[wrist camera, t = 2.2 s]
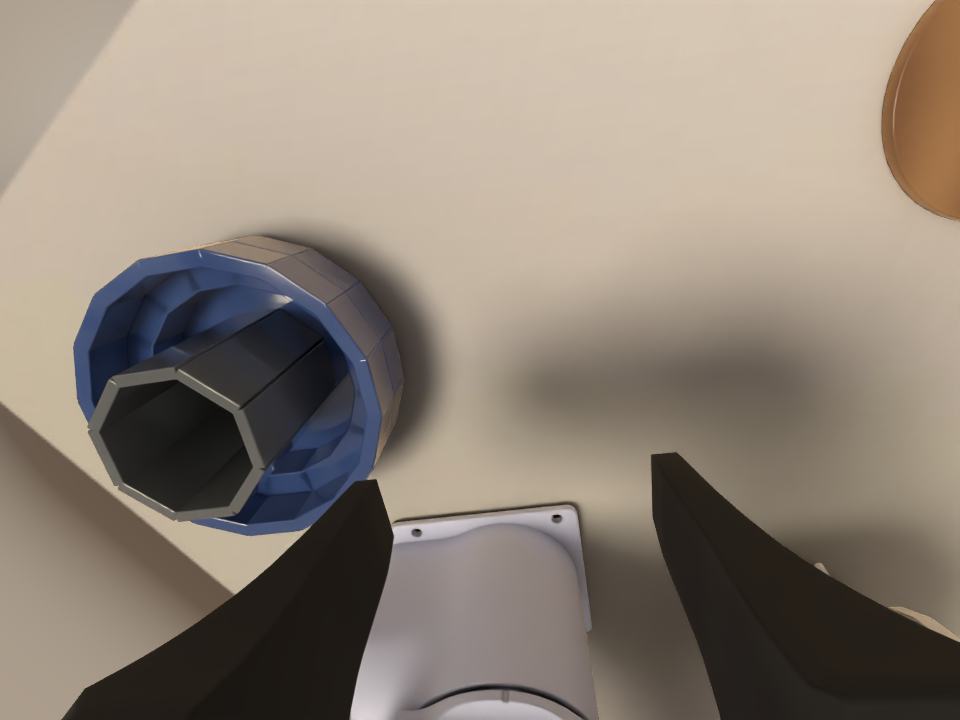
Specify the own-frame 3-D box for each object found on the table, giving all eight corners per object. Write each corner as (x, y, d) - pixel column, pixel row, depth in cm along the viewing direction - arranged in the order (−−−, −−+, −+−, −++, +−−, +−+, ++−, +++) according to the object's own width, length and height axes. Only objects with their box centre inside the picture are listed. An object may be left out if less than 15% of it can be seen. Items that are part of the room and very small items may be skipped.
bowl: (208, 485, 26) (148, 547, 21) (114, 260, 22) (17, 281, 18) (428, 459, 24) (410, 520, 20) (369, 213, 20) (331, 224, 16)
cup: (239, 429, 24) (133, 527, 17) (198, 321, 22) (63, 384, 15) (347, 415, 23) (280, 511, 16) (314, 302, 21) (224, 359, 15)
